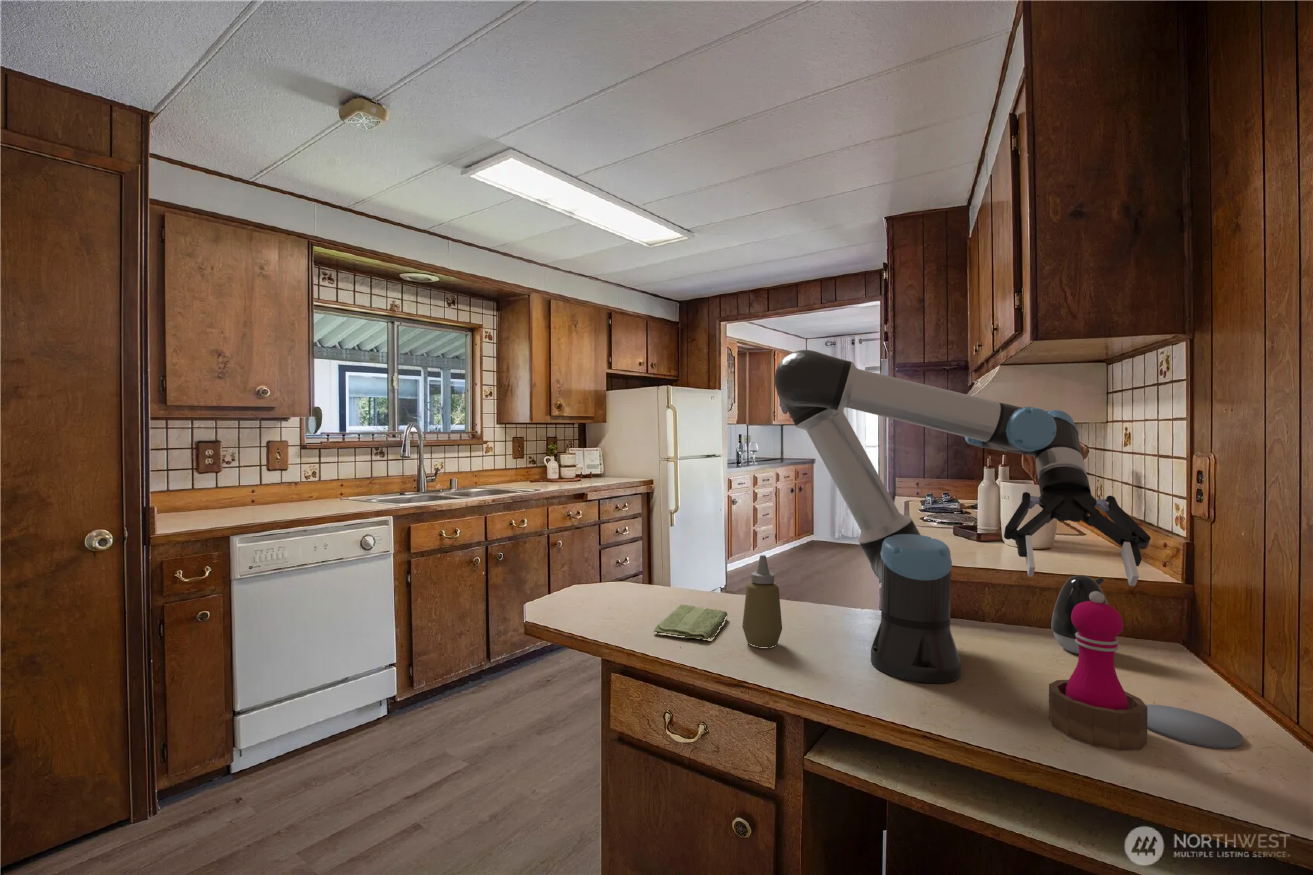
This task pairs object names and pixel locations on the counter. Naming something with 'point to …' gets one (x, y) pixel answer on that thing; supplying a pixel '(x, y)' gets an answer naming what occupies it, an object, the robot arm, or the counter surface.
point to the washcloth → (692, 622)
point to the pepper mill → (1096, 655)
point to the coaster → (1192, 727)
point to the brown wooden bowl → (1098, 720)
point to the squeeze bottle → (762, 608)
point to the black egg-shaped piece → (1067, 599)
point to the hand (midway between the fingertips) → (1081, 576)
